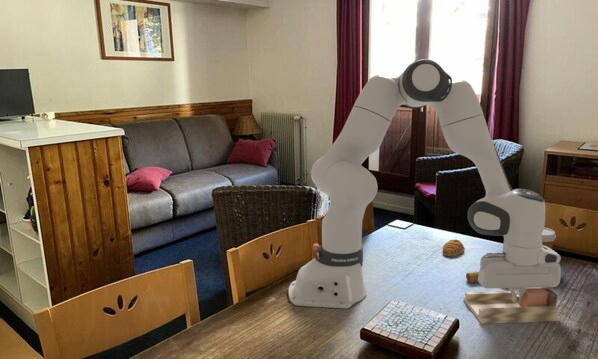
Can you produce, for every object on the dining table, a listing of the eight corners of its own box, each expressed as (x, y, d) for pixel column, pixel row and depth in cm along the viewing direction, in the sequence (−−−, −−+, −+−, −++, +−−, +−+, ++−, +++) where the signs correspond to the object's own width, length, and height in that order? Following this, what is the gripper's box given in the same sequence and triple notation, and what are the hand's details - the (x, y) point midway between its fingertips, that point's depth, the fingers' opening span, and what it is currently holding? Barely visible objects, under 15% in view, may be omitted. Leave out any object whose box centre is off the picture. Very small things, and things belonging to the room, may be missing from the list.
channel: (481, 323, 115) (483, 302, 114) (463, 300, 127) (464, 280, 125) (559, 320, 116) (562, 299, 114) (534, 298, 127) (536, 278, 126)
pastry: (457, 259, 154) (458, 249, 153) (437, 255, 158) (438, 245, 157) (465, 250, 162) (466, 240, 161) (446, 247, 165) (446, 237, 165)
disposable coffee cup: (558, 266, 147) (562, 231, 144) (542, 274, 142) (546, 238, 139) (529, 257, 154) (533, 223, 152) (513, 264, 149) (516, 229, 147)
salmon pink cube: (527, 311, 119) (529, 293, 117) (517, 301, 123) (519, 284, 122) (546, 310, 119) (548, 292, 118) (535, 300, 124) (537, 283, 122)
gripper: (486, 258, 114) (481, 308, 117) (567, 256, 114) (560, 306, 118) (476, 248, 120) (472, 296, 123) (553, 246, 121) (546, 294, 124)
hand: (515, 301), depth 121 cm, fingers closed
